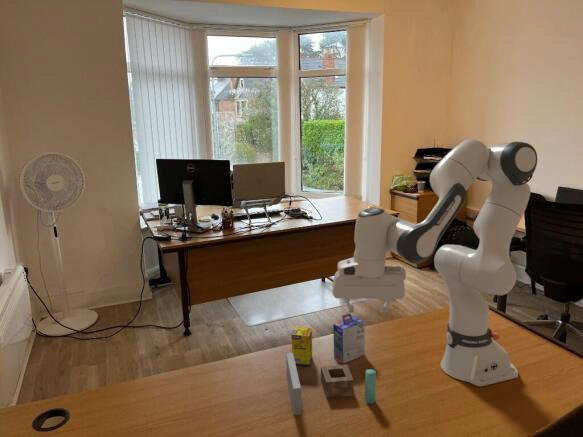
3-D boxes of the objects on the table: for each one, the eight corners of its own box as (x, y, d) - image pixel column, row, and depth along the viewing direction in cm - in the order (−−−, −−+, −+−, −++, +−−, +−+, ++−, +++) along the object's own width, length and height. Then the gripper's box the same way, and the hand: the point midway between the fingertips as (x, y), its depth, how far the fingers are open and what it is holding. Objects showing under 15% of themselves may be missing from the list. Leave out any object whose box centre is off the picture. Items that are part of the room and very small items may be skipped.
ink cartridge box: (354, 348, 150) (355, 309, 147) (365, 354, 146) (366, 315, 143) (332, 357, 145) (332, 317, 142) (343, 364, 140) (343, 323, 137)
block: (346, 379, 132) (346, 364, 131) (353, 395, 125) (353, 379, 123) (320, 381, 131) (320, 366, 130) (326, 397, 124) (326, 382, 123)
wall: (293, 376, 134) (292, 352, 133) (301, 414, 117) (300, 388, 115) (286, 376, 134) (286, 353, 132) (293, 414, 117) (293, 388, 115)
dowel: (373, 397, 124) (374, 368, 122) (376, 403, 121) (377, 374, 119) (363, 398, 123) (364, 369, 121) (366, 404, 121) (367, 375, 119)
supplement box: (309, 367, 139) (309, 336, 137) (291, 365, 140) (290, 334, 138) (312, 357, 145) (312, 327, 142) (295, 355, 146) (294, 326, 144)
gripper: (403, 262, 124) (400, 307, 127) (332, 262, 125) (331, 306, 128) (409, 270, 118) (406, 317, 121) (334, 269, 119) (332, 316, 122)
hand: (367, 311), depth 125 cm, fingers open, 8 cm apart
